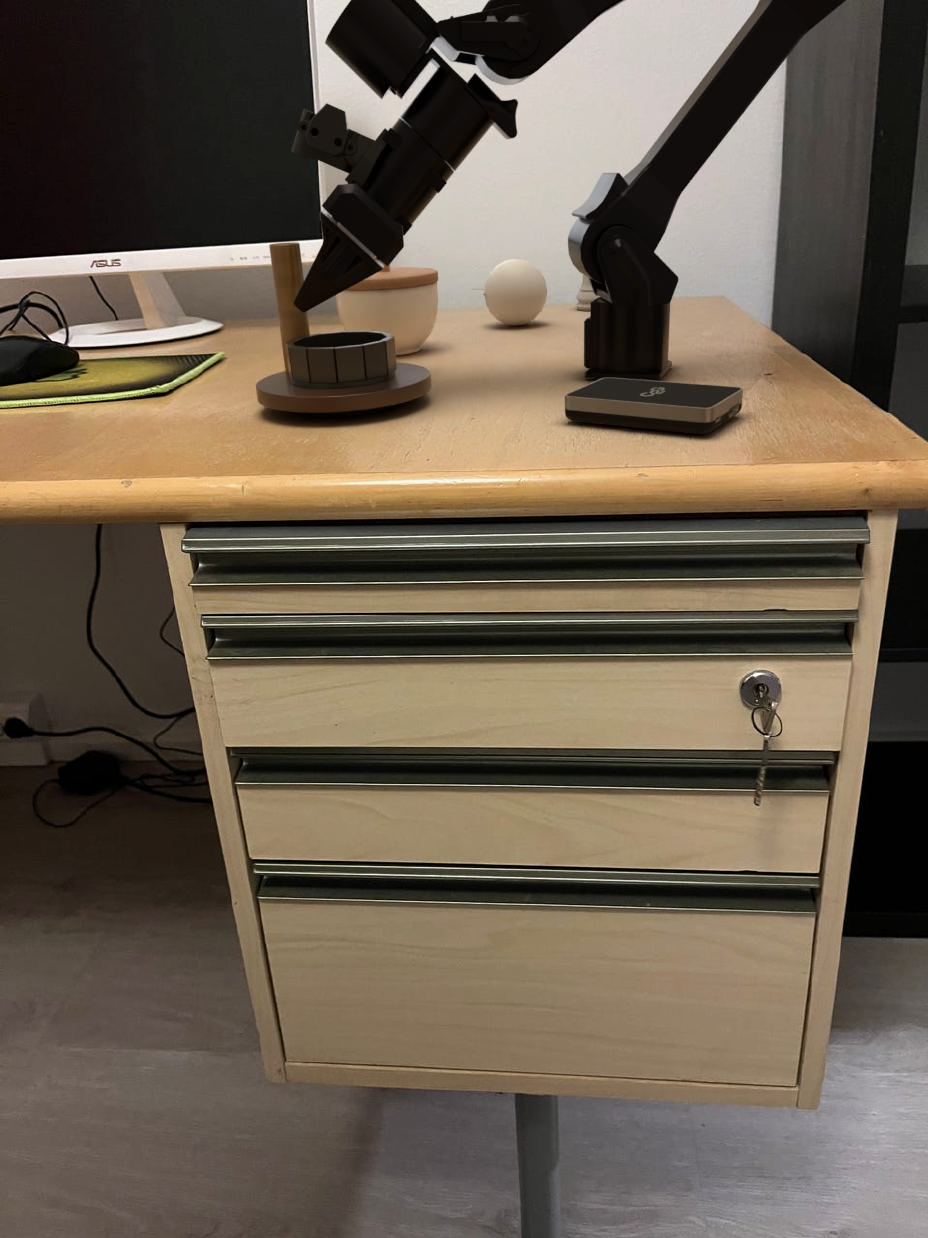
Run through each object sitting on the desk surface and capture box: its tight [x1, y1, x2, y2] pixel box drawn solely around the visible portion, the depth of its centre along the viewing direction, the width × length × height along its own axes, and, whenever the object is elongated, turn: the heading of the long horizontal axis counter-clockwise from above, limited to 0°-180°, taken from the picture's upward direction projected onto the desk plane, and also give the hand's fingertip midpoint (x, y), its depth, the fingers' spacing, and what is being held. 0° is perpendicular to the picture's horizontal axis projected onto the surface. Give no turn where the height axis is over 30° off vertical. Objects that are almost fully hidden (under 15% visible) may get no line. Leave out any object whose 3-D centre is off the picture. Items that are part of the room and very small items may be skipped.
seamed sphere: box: [471, 258, 548, 326], centre depth 111 cm, size 10×7×7 cm
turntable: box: [255, 241, 432, 413], centre depth 75 cm, size 14×14×11 cm
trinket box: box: [334, 260, 439, 356], centre depth 98 cm, size 11×11×9 cm
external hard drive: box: [564, 378, 744, 435], centre depth 68 cm, size 7×11×2 cm, turn 56°
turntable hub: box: [299, 405, 394, 418], centre depth 77 cm, size 8×8×1 cm
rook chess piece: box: [575, 274, 600, 312], centre depth 120 cm, size 4×4×8 cm
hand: (303, 300), depth 79 cm, fingers open, 9 cm apart
